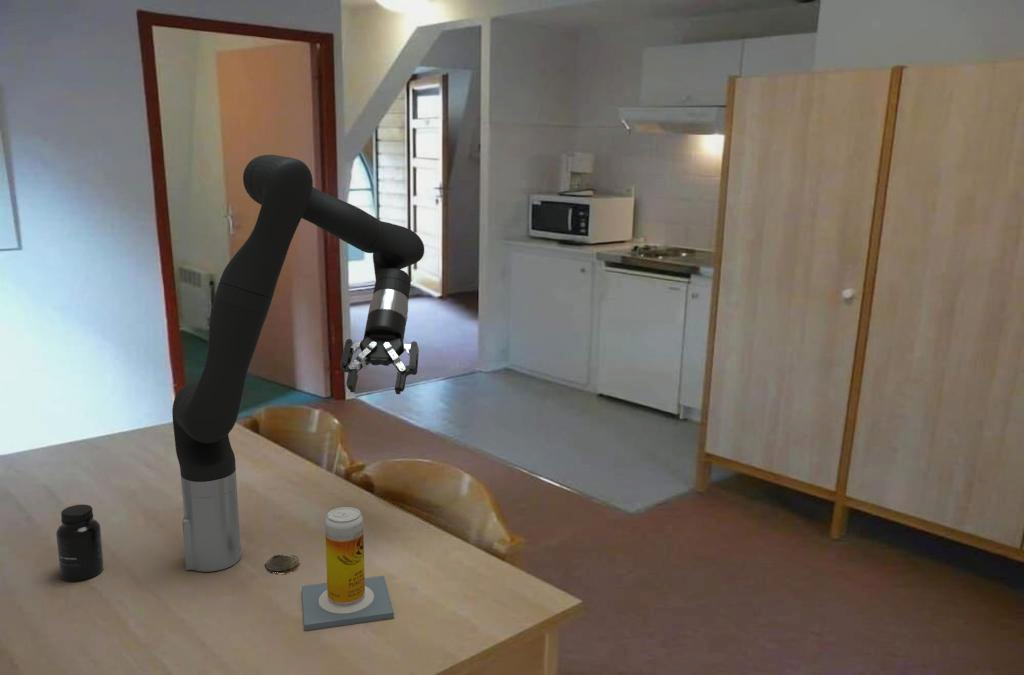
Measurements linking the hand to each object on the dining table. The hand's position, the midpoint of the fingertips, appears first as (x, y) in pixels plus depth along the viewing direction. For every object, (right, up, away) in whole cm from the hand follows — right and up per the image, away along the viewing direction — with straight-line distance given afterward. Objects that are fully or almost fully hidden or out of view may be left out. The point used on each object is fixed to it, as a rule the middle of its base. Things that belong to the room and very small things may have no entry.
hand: (374, 391), depth 146 cm
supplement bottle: (-51, -32, -5) cm, 60 cm away
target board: (-2, -34, -14) cm, 37 cm away
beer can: (-2, -33, -14) cm, 36 cm away
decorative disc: (-16, -32, -1) cm, 36 cm away
